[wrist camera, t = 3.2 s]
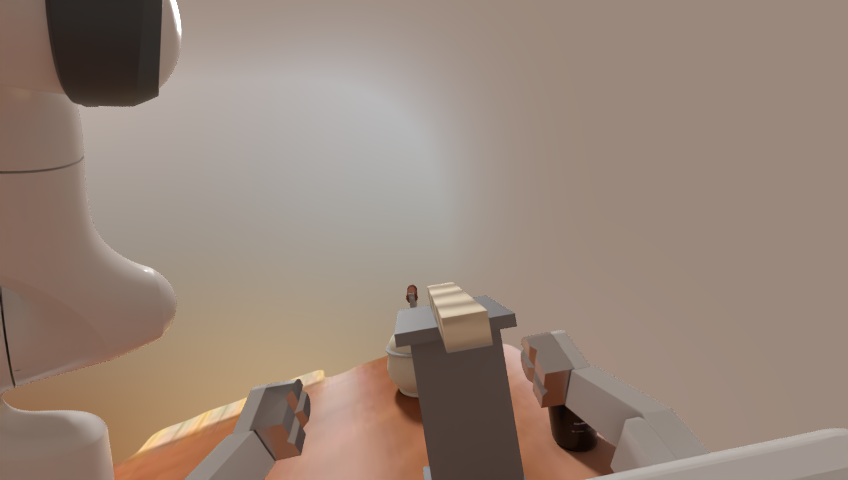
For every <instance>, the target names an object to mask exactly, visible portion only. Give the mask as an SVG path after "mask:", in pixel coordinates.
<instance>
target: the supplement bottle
mask: <svg viewBox="0 0 848 480" xmlns="http://www.w3.org/2000/svg"><path fill="white" fill-rule="evenodd" d="M548 411H549V417H550V424H551V430H552V435H553V438H554V439H555V441H556V442H557V443H558V444H559V445H561V446H562V447H564V448H566V449H569V450H573V451H587V450H590V449H592V448H593V447H595V445H596V444H597V431H595V430H594V429H593V428H592V427H591V426H589V425H588V424H587V423H586V422H585V421H583V420H582V419H581V418H580V417H579V416H577V415H576V414H575V413H574V412H573V411H571V410H570V409H569V408H568V407H566V406H565V404H563V405H557V406H551V407H548Z"/></svg>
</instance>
